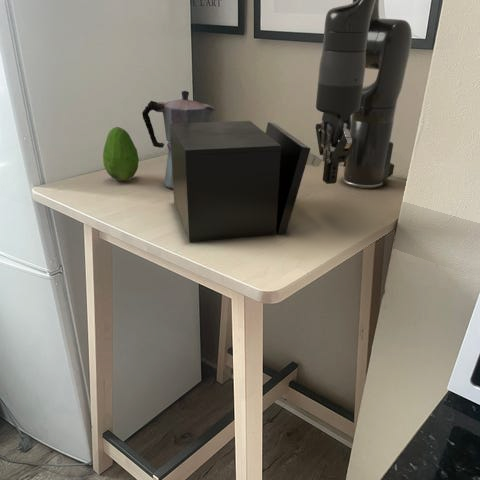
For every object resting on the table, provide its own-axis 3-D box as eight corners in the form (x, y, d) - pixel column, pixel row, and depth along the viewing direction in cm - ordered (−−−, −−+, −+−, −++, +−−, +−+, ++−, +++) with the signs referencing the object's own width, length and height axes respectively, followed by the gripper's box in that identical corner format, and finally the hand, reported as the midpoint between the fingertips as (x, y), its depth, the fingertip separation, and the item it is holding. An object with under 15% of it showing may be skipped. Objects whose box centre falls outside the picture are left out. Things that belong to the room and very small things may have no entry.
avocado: (123, 187, 112) (117, 132, 105) (99, 181, 116) (91, 127, 109) (147, 179, 118) (143, 125, 111) (123, 173, 121) (117, 121, 115)
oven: (248, 199, 107) (250, 120, 98) (276, 235, 91) (281, 145, 82) (174, 204, 104) (169, 123, 95) (189, 243, 87) (185, 150, 79)
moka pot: (220, 189, 112) (219, 93, 101) (152, 195, 108) (143, 95, 97) (210, 177, 119) (209, 86, 108) (146, 182, 116) (137, 88, 105)
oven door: (272, 201, 109) (292, 127, 101) (304, 237, 92) (330, 152, 85) (249, 197, 107) (267, 121, 99) (277, 233, 91) (302, 146, 83)
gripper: (379, 86, 79) (363, 192, 88) (344, 75, 90) (333, 171, 99) (335, 87, 77) (324, 195, 87) (305, 75, 88) (298, 173, 97)
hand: (329, 182), depth 93 cm, fingers closed
